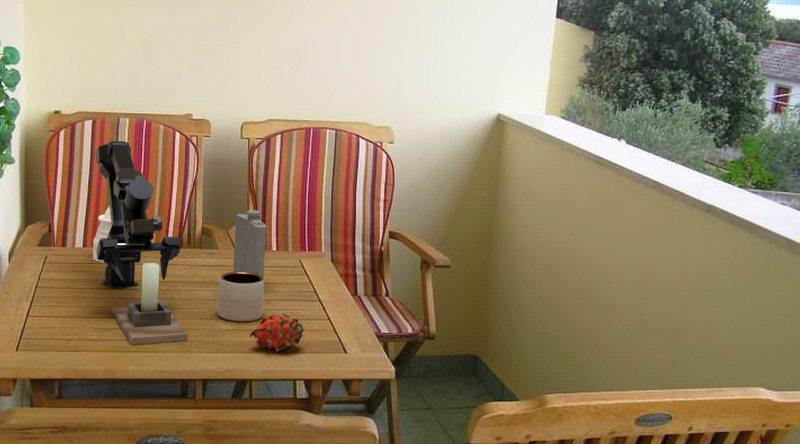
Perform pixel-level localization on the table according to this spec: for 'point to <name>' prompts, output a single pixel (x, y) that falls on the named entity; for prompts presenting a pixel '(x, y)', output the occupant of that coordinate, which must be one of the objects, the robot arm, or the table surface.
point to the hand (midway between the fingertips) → (144, 279)
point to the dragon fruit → (278, 332)
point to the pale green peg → (150, 287)
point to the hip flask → (249, 243)
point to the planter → (240, 296)
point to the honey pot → (102, 231)
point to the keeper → (149, 324)
